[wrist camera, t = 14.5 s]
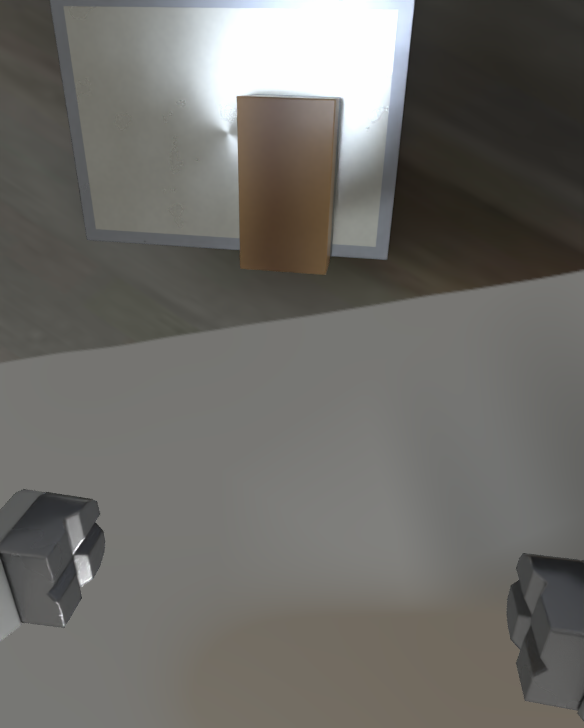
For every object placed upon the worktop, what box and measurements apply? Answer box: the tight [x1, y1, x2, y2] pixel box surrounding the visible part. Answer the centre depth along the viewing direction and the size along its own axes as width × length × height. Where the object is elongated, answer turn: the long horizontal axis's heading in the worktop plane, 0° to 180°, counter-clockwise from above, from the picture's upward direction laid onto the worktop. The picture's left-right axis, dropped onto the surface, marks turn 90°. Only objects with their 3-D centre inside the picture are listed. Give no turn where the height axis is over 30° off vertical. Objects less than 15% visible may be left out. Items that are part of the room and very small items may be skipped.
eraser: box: [237, 94, 341, 275], centre depth 31 cm, size 5×9×4 cm, turn 179°
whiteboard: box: [50, 0, 415, 260], centre depth 32 cm, size 20×14×1 cm
